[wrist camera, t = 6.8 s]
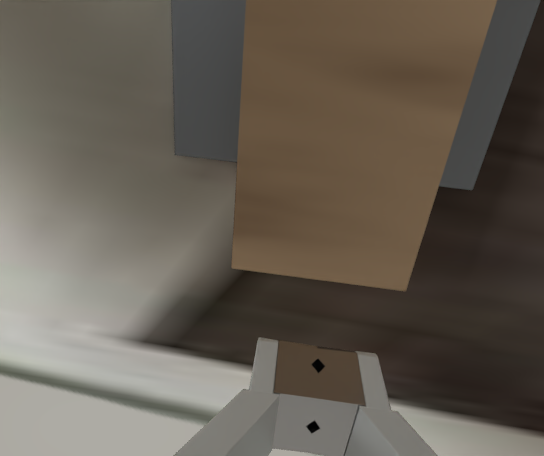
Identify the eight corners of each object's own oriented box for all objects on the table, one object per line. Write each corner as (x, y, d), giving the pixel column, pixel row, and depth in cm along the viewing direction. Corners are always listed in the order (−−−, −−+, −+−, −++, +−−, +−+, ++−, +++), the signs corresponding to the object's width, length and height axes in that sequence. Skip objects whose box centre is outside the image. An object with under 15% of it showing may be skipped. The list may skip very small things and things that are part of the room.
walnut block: (254, 204, 18) (286, -191, 12) (375, 219, 18) (472, -176, 11) (231, 268, 12) (268, -403, 6) (405, 291, 12) (617, -384, 6)
